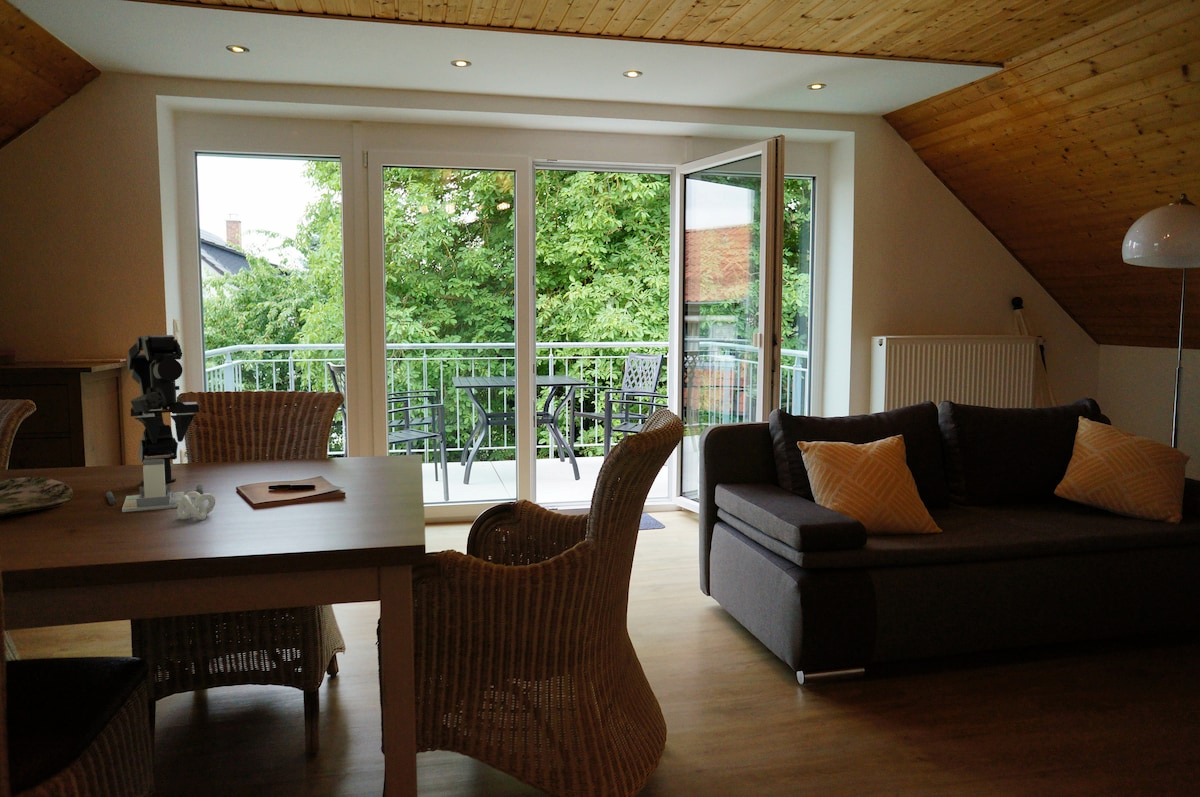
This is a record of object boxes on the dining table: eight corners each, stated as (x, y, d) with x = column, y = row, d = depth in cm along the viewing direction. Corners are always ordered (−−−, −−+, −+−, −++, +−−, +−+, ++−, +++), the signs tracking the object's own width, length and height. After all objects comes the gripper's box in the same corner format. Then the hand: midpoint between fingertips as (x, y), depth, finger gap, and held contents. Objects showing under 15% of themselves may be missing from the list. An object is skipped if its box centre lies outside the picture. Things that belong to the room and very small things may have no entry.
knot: (209, 512, 197) (208, 488, 197) (222, 518, 192) (221, 493, 191) (174, 517, 192) (173, 492, 192) (187, 523, 186) (186, 498, 186)
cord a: (196, 489, 223) (196, 484, 223) (202, 489, 224) (202, 483, 224) (197, 498, 212) (196, 493, 212) (203, 497, 213) (202, 492, 213)
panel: (126, 499, 211) (125, 488, 211) (184, 494, 217) (183, 483, 217) (122, 512, 197) (121, 500, 197) (184, 506, 203) (183, 495, 202)
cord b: (105, 496, 214) (105, 491, 214) (112, 496, 215) (111, 490, 215) (109, 505, 204) (109, 500, 204) (116, 505, 205) (116, 499, 204)
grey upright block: (145, 495, 211) (143, 459, 210) (165, 494, 213) (164, 458, 212) (144, 499, 207) (142, 462, 206) (165, 497, 209) (163, 461, 208)
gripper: (109, 385, 217) (114, 446, 217) (162, 381, 210) (167, 443, 210) (147, 384, 227) (151, 442, 227) (199, 380, 220) (203, 440, 220)
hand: (167, 442), depth 221 cm, fingers open, 9 cm apart
